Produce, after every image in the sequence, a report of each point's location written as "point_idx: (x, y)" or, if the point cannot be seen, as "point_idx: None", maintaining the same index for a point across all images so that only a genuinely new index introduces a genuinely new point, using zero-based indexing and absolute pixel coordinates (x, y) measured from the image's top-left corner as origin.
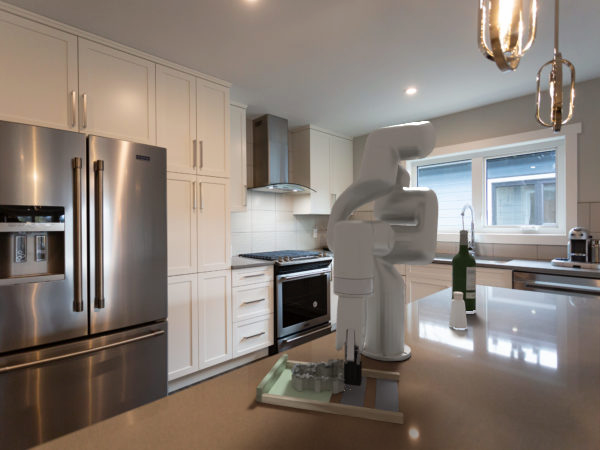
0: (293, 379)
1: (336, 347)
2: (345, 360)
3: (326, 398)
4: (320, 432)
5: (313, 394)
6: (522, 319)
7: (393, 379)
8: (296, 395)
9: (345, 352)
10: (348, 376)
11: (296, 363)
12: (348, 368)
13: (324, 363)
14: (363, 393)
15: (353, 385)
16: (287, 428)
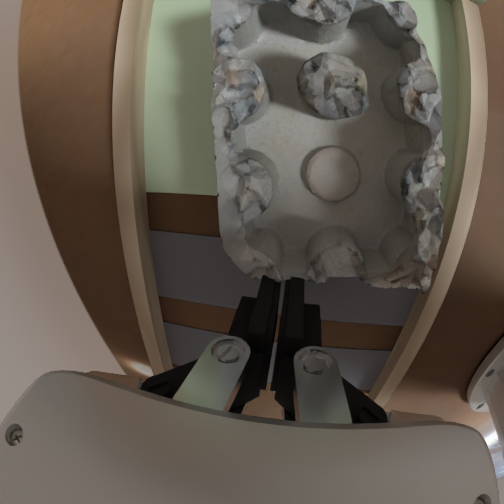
0: (255, 17)
1: (33, 382)
2: (203, 356)
3: (210, 181)
4: (62, 194)
5: None
6: (497, 465)
7: (374, 385)
8: (205, 59)
9: (176, 399)
10: (238, 308)
11: (411, 12)
12: (229, 335)
13: (432, 172)
14: (279, 311)
15: (338, 283)
16: (53, 112)
